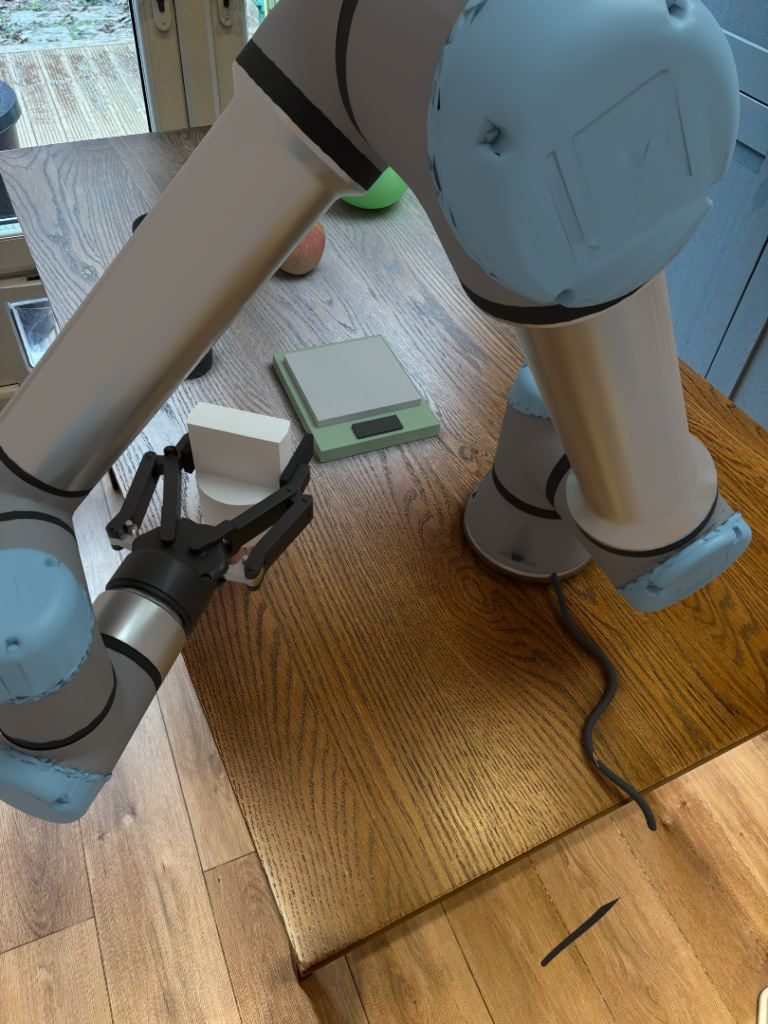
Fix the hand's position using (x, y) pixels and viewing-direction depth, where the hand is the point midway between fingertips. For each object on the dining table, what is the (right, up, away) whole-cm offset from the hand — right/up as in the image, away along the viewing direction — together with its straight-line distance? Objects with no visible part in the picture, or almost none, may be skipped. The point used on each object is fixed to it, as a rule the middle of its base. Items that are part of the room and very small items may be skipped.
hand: (263, 431), depth 73 cm
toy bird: (+9, +49, +64) cm, 81 cm away
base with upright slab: (-2, -8, +2) cm, 9 cm away
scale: (+8, +7, +27) cm, 29 cm away
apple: (-2, +31, +48) cm, 57 cm away
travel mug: (-15, +12, +30) cm, 36 cm away
